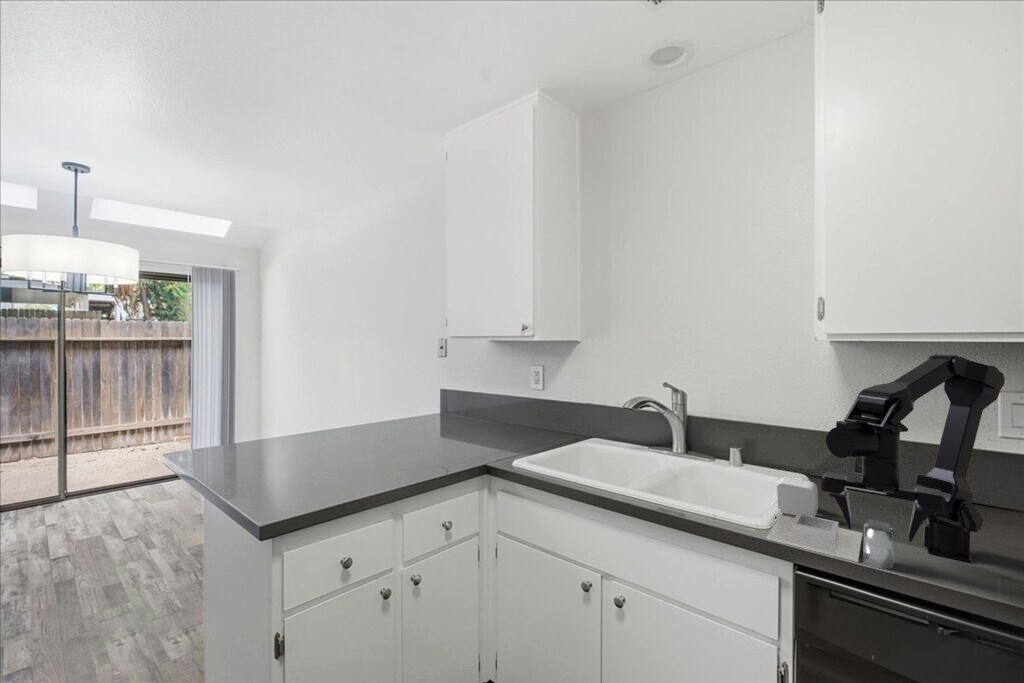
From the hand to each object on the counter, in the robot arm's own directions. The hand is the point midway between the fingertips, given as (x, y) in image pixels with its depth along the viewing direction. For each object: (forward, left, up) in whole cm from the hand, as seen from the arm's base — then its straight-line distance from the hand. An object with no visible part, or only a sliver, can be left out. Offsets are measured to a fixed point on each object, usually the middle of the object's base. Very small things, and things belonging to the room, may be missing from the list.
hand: (878, 534), depth 92 cm
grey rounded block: (+16, -22, -6) cm, 28 cm away
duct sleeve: (0, 0, -6) cm, 6 cm away
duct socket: (+11, -6, -6) cm, 14 cm away
